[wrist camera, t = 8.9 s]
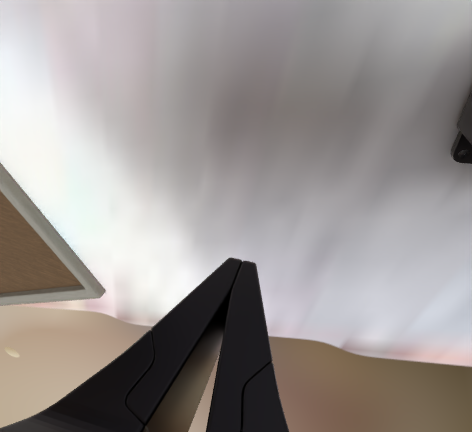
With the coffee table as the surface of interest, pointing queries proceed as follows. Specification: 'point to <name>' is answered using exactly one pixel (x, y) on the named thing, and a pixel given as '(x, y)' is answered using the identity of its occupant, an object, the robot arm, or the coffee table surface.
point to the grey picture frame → (36, 254)
